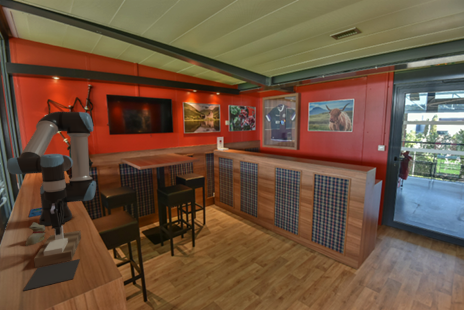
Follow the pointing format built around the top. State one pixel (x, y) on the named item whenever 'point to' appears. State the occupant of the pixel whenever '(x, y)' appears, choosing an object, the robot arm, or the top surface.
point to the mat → (52, 274)
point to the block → (56, 246)
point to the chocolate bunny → (36, 234)
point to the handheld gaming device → (35, 212)
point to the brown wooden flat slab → (59, 257)
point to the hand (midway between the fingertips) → (59, 240)
